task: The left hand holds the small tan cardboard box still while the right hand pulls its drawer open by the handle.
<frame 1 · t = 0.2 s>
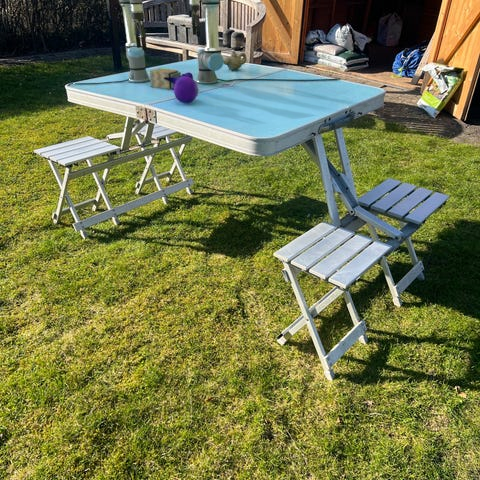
left hand: (196, 35, 349), 28 cm above the table, tool pointing down, fingers open, 13 cm apart
right hand: (141, 48, 289), 28 cm above the table, tool pointing down, fingers open, 13 cm apart
toy: (183, 101, 282), on the table
drawer: (171, 79, 314), point 6 cm above the table, slide at 1.3 cm
tan cardboard box: (165, 86, 320), on the table
teapot: (235, 70, 371), on the table
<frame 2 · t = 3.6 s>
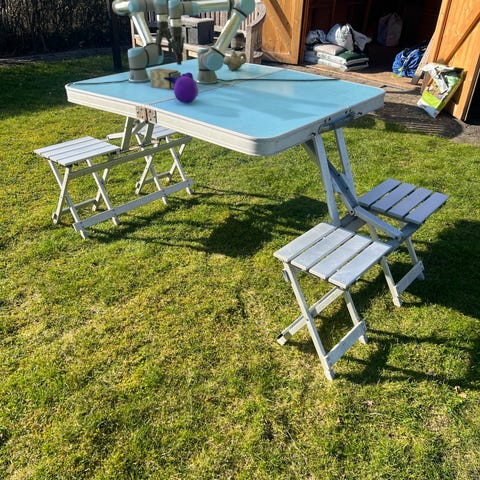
left hand: (165, 54, 321), 20 cm above the table, tool pointing down, fingers open, 13 cm apart
right hand: (179, 64, 305), 16 cm above the table, tool pointing down, fingers closed
nothing on the table moved.
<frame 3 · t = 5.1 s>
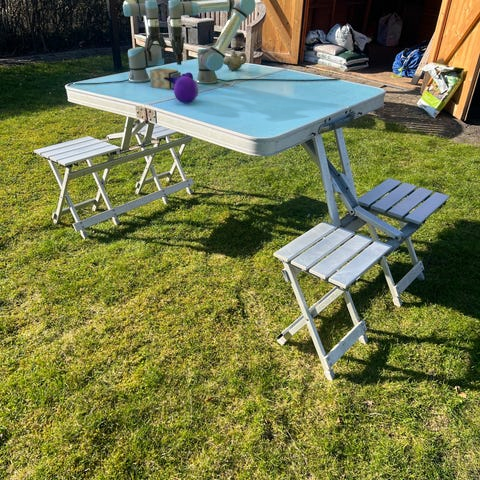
left hand: (157, 59, 314), 18 cm above the table, tool pointing down, fingers open, 13 cm apart
right hand: (179, 64, 305), 16 cm above the table, tool pointing down, fingers closed
nothing on the table moved.
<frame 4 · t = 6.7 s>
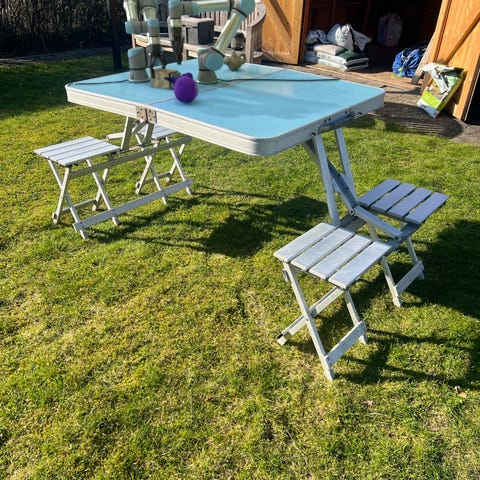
left hand: (158, 77, 320), 6 cm above the table, tool pointing down, fingers closed on tan cardboard box, 10 cm apart
right hand: (179, 64, 305), 16 cm above the table, tool pointing down, fingers closed
tan cardboard box: (165, 86, 320), on the table, touching left hand
everything else where it was.
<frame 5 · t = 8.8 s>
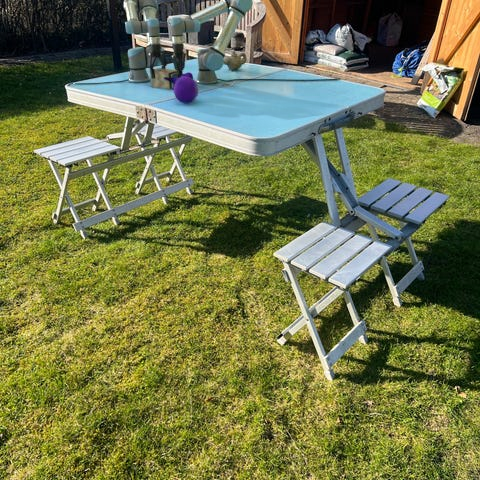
left hand: (158, 77, 320), 6 cm above the table, tool pointing down, fingers closed on tan cardboard box, 10 cm apart
right hand: (180, 80, 310), 6 cm above the table, tool pointing down, fingers closed
drawer: (171, 79, 314), point 6 cm above the table, slide at 1.5 cm, touching right hand
tan cardboard box: (165, 86, 320), on the table, touching left hand
everything else where it was.
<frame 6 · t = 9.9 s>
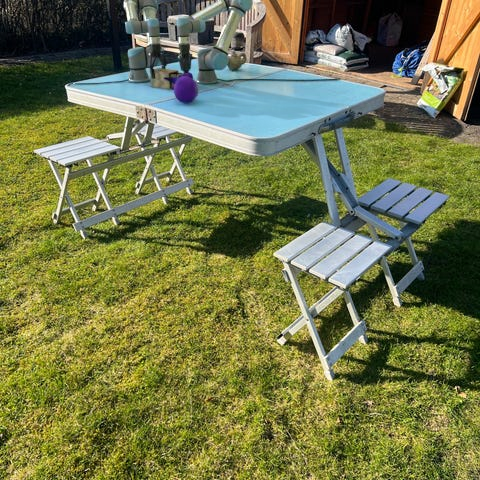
left hand: (158, 77, 320), 6 cm above the table, tool pointing down, fingers closed on tan cardboard box, 10 cm apart
right hand: (186, 80, 307), 6 cm above the table, tool pointing down, fingers closed
drawer: (177, 80, 311), point 6 cm above the table, slide at 7.0 cm, touching right hand
tan cardboard box: (165, 86, 320), on the table, touching left hand
everything else where it was.
when the left hand's fingers open (6 cm above the table, at t = 11.5 s): tan cardboard box stays where it is, on the table.
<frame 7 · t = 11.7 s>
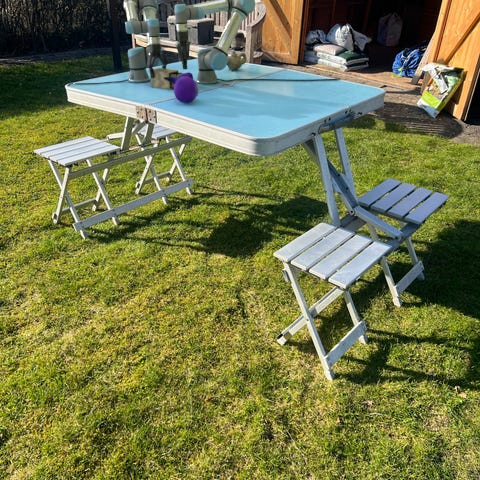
left hand: (158, 76, 319), 7 cm above the table, tool pointing down, fingers open, 12 cm apart
right hand: (185, 69, 303), 14 cm above the table, tool pointing down, fingers closed
drawer: (177, 80, 311), point 6 cm above the table, slide at 7.1 cm
tan cardboard box: (165, 86, 320), on the table
everything else where it was.
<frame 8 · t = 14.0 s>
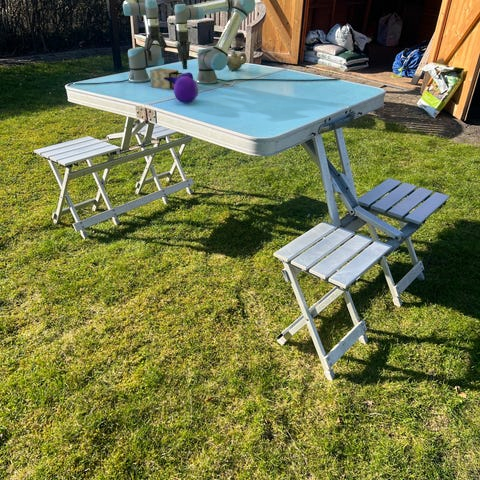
left hand: (156, 59, 314), 18 cm above the table, tool pointing down, fingers open, 13 cm apart
right hand: (185, 69, 303), 14 cm above the table, tool pointing down, fingers closed
nothing on the table moved.
at the end: drawer slide at 7.1 cm; tan cardboard box tilted 0°; tan cardboard box never tilted more than 1° during the clip; tan cardboard box moved 0.1 cm from its start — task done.
